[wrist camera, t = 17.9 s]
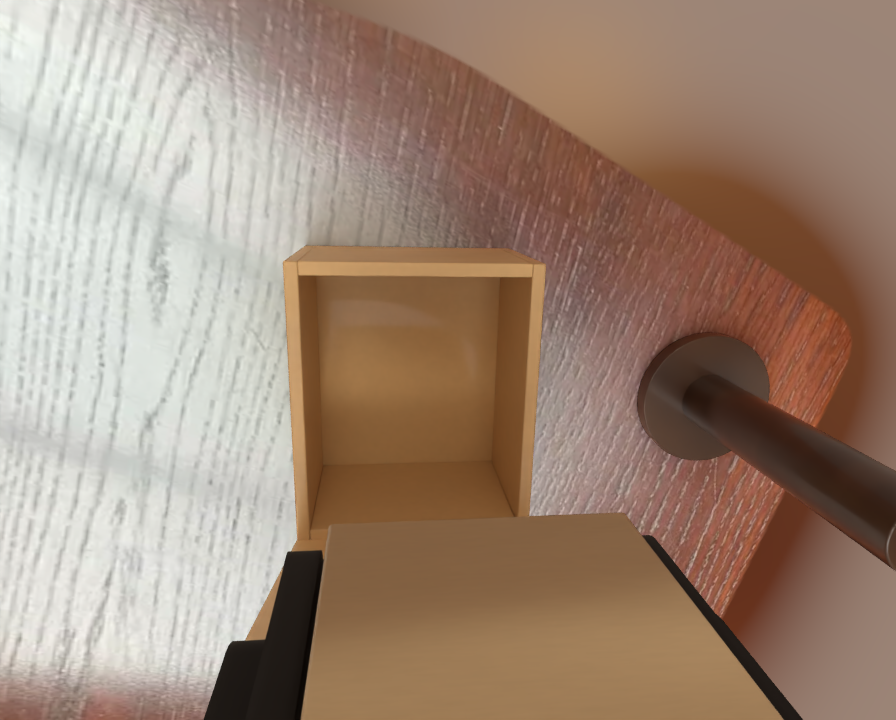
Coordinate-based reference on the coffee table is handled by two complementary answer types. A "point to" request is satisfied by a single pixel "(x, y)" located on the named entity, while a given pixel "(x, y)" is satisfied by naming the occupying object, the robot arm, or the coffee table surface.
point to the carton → (411, 383)
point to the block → (514, 627)
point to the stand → (763, 436)
